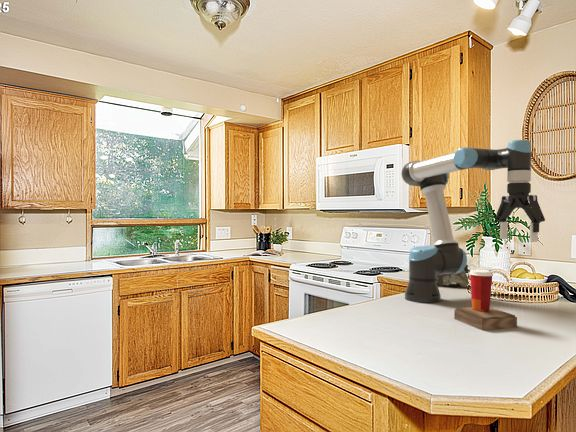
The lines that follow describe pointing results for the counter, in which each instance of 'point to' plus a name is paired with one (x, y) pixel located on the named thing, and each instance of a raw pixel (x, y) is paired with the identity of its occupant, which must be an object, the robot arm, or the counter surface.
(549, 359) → the counter surface
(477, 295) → the paper cup
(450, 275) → the hollow geode rock
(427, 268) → the robot arm
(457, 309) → the walnut plinth
